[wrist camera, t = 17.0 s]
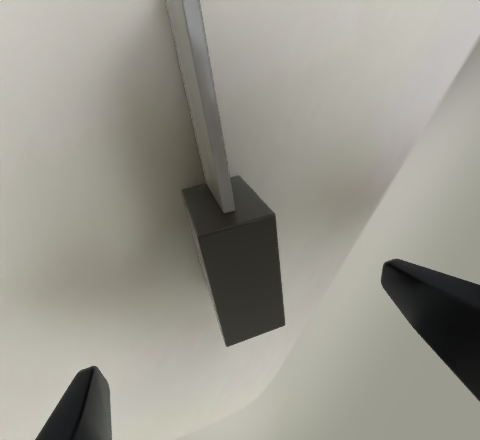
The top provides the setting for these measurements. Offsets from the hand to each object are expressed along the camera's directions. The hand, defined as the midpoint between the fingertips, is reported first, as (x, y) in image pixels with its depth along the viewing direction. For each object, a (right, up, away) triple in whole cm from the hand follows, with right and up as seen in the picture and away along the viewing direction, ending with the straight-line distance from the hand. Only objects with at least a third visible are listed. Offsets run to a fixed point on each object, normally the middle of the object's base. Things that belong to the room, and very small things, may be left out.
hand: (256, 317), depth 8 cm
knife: (-2, +5, +2) cm, 6 cm away
